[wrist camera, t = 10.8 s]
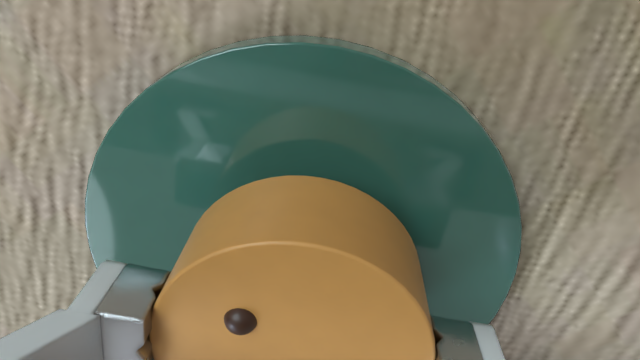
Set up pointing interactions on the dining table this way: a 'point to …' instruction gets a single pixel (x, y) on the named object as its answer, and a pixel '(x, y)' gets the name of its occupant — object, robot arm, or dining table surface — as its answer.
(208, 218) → the cookie
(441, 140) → the plate
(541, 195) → the dining table surface
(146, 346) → the robot arm
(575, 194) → the dining table surface
